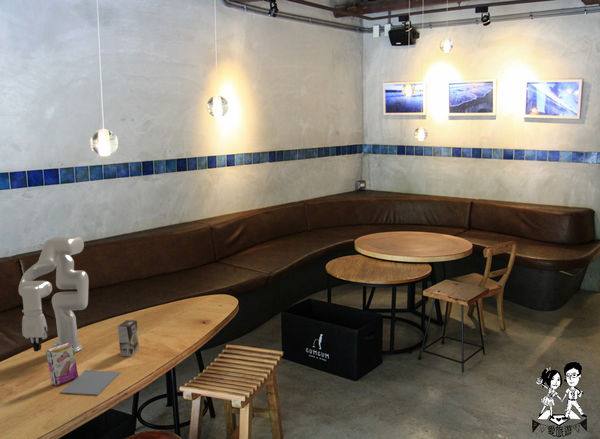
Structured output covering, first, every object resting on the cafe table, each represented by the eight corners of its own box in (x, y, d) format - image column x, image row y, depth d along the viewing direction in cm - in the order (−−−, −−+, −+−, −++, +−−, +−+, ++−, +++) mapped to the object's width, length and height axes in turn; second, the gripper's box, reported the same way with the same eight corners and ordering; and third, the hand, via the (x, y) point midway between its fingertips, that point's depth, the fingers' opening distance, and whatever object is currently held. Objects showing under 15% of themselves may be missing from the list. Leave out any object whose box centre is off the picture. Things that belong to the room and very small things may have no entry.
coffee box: (131, 356, 300) (128, 326, 297) (120, 356, 302) (117, 326, 298) (139, 349, 309) (137, 320, 306) (128, 348, 310) (125, 319, 307)
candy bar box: (56, 386, 269) (49, 351, 268) (51, 384, 273) (44, 350, 271) (79, 377, 278) (72, 343, 276) (74, 375, 281) (67, 342, 279)
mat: (60, 393, 264) (60, 392, 264) (85, 371, 285) (85, 370, 285) (97, 395, 261) (97, 394, 261) (120, 373, 282) (120, 371, 282)
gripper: (13, 314, 268) (17, 352, 271) (43, 315, 266) (47, 354, 269) (23, 309, 275) (27, 346, 279) (52, 310, 273) (56, 347, 276)
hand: (37, 350), depth 274 cm, fingers closed
